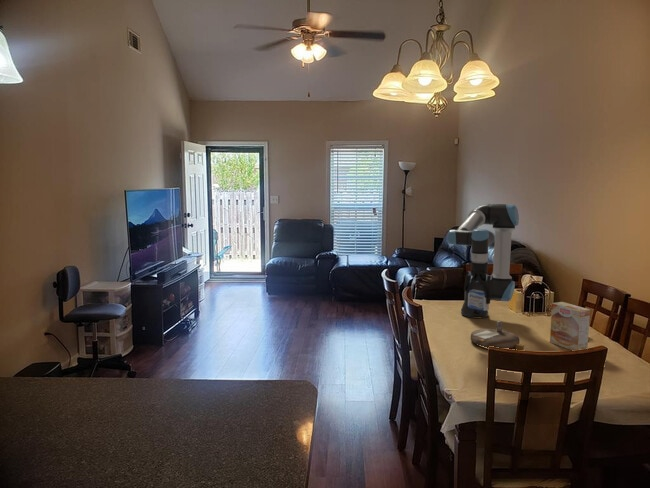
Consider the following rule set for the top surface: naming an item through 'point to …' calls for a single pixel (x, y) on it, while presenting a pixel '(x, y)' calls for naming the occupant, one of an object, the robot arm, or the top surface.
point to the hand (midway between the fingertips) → (478, 307)
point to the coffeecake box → (569, 326)
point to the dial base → (518, 347)
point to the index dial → (495, 337)
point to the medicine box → (476, 299)
